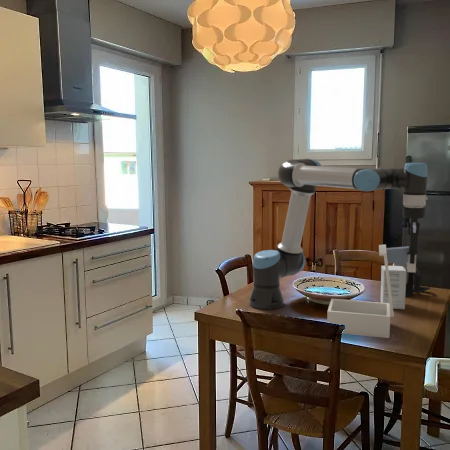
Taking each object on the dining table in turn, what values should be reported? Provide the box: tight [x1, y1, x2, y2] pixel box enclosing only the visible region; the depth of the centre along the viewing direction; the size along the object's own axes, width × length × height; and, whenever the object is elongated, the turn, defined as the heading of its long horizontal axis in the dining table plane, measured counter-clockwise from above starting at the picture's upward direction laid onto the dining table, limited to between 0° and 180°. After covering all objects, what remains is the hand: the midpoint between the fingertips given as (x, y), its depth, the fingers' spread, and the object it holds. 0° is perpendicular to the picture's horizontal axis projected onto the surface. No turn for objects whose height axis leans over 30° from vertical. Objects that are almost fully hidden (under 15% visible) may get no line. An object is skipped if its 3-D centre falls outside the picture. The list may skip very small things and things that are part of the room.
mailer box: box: [326, 298, 391, 339], centre depth 179 cm, size 22×16×8 cm
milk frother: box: [393, 262, 431, 297], centre depth 221 cm, size 14×16×15 cm
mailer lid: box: [378, 243, 409, 318], centre depth 172 cm, size 23×16×12 cm
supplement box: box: [379, 265, 406, 310], centre depth 203 cm, size 10×9×17 cm
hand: (411, 270), depth 171 cm, fingers closed on mailer lid, 3 cm apart
